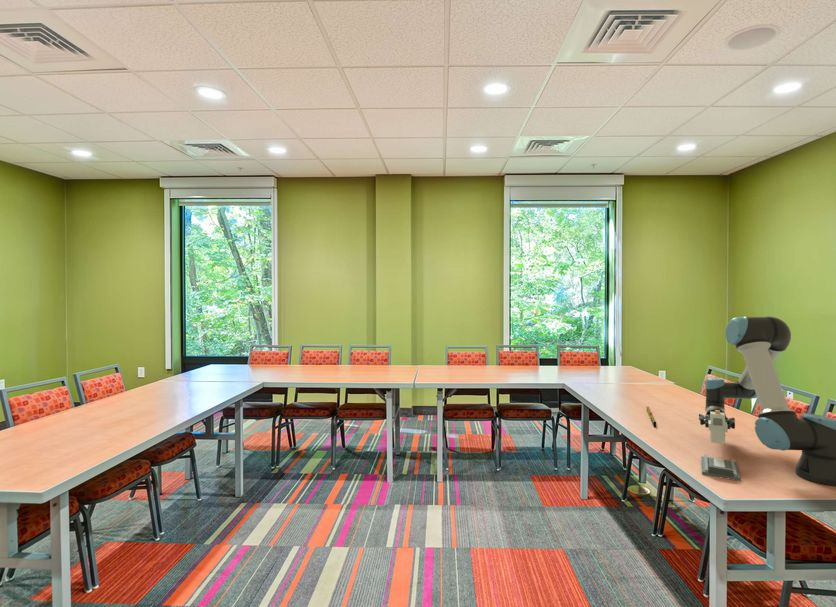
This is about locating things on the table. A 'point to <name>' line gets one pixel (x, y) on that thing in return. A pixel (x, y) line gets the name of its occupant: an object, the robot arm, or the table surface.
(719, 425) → the din module
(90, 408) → the table surface
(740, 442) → the table surface
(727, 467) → the rail board
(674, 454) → the table surface
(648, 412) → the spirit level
